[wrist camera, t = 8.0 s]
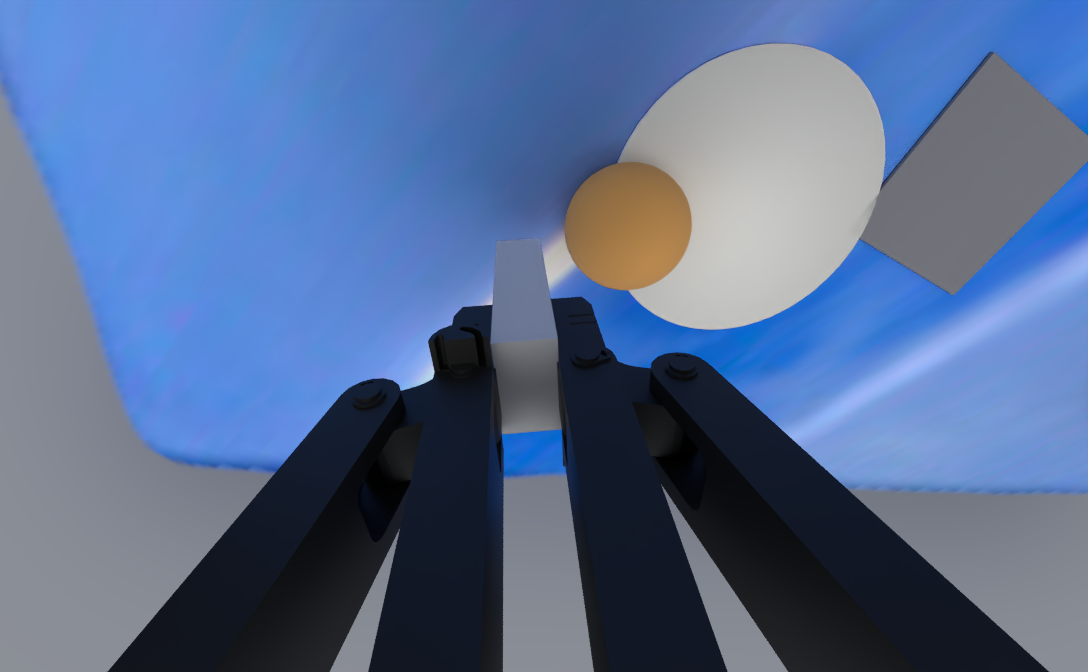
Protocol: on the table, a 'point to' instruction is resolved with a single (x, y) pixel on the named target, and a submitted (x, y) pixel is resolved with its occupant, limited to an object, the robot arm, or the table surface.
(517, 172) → the table surface
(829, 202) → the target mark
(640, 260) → the ball
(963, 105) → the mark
